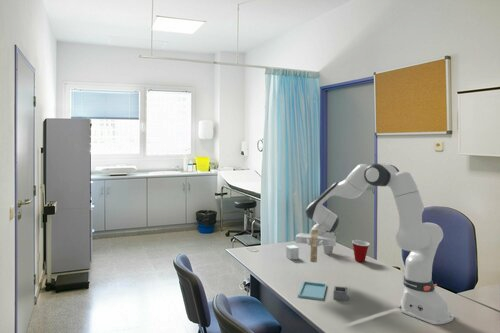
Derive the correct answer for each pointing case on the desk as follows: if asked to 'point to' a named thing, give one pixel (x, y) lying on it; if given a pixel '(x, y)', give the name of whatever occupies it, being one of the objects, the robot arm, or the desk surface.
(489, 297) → the desk surface
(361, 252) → the plastic cup
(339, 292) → the square cup
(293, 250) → the product box
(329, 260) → the desk surface
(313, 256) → the beech pin
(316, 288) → the tray
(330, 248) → the house plant
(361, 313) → the desk surface
